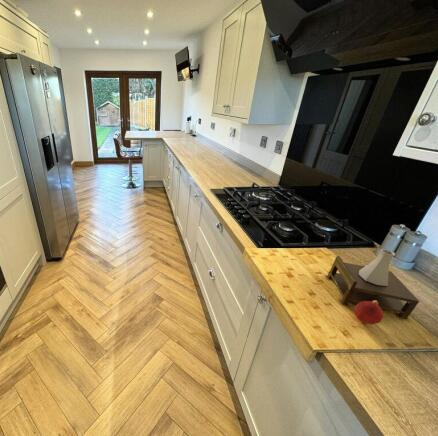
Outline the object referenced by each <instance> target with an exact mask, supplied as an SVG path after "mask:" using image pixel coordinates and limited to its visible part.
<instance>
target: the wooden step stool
mask: <svg viewBox="0 0 438 436" xmlns="http://www.w3.org/2000/svg"><path fill="white" fill-rule="evenodd" d="M365 266H366V265H359V264H355V263H349V262H346V261H345V262H344V260H343V259H342V258H341V256H340V255H336V256H335V260H334V261H333V263H332V265H331V267H330V269H329V271H328V274H327V276H326V277H327V279H329V280H332V281H333V283H334V284H335V286H336V287H337V290H338V292H339V293H340V295H341V299H340V302H341V303H340V304H342V305H344V306H348V305H349V303H350V302H352V303H356V304H358V303H360V302H363V301H370V302H372V301H374V300H375V301H378V305H379V306H380V307H381V309H382V310H386V311H391V312H396V313H397V315H398V316H399V318H401V319H405V320H407V319H408V318H409V317H410V315H411V313H412V312H413V311H414V310H415V308H416V307H417V306H418V304H419V303H420V300H419V299H418V298H417V297H416V296H415V295H414V293H412V292H411V290H409V288H407V286H406V285H405V284H404V283H402V281H401V280H400V279H399V278H398V276H396V275H395V274H394V272H392V271H391V270H389V271H388V286H382V285H376V284H373V283H371V282H368V281H365V280H364V279H363V278H362V277H361V276H360V275H359V270H361V269H362V268H364V267H365ZM402 301H403V302H405V303H402Z"/></svg>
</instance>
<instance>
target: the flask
mask: <svg viewBox="0 0 438 436" xmlns="http://www.w3.org/2000/svg"><path fill="white" fill-rule="evenodd" d="M395 256H396V252H394V251H392V250H389V249H387V248H381V249H380V253H379V255H377V257H376V258H375V259H373V260H372V261H371V262H370V263H368V264H366V265H364V266H365V267H364V268H362V269H361V270H359V275H360V276H361V277H362V278H363V279H364V280H365V281H368V282H371V283H373V284H376V285H382V286H388V271H390V270H389V269H390V264H391V261H392V259H393V258H394V257H395Z"/></svg>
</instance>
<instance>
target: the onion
mask: <svg viewBox="0 0 438 436" xmlns="http://www.w3.org/2000/svg"><path fill="white" fill-rule="evenodd" d="M354 314H355V316H356V317H357V319H358V320H359V321H360V322H361V323H363V324H366V325H376V324H380V323H381V322H382V321H383V319H384V315H385V314H384V310H383V309H382V308H381V307H380V306H379V305H378V301H375V300H374V301H372V302H370V301H363V302H360V303H356V305H355V306H354Z"/></svg>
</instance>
